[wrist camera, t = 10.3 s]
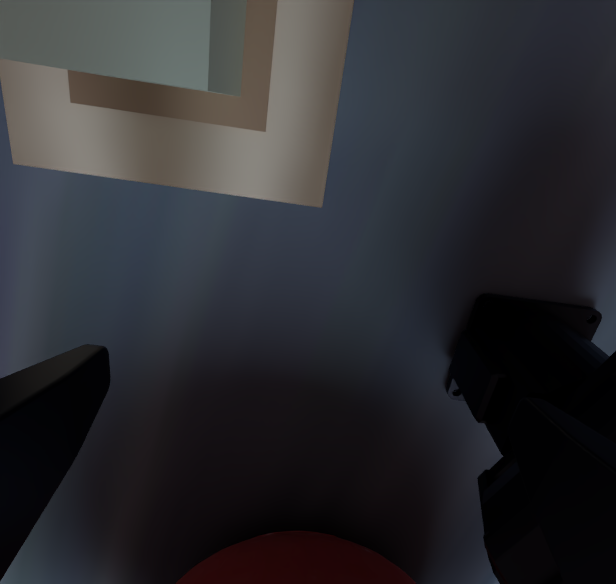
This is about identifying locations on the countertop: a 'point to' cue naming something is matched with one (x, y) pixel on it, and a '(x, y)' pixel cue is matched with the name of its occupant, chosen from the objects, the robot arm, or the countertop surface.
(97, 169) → the birch base
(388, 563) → the mixing bowl
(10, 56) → the gray cube
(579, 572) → the robot arm
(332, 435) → the countertop surface
